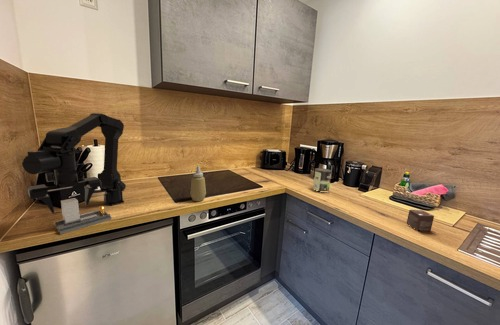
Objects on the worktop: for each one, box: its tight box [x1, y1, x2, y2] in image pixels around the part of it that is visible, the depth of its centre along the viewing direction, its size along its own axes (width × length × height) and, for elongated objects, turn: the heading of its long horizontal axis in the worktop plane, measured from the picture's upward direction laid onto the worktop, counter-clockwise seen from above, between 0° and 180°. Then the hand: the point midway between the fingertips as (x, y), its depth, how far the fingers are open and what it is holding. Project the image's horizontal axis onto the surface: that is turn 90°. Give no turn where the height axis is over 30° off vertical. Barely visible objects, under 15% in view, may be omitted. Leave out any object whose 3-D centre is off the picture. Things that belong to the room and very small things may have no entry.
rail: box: [54, 205, 112, 235], centre depth 75 cm, size 15×9×4 cm, turn 143°
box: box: [406, 209, 435, 232], centre depth 85 cm, size 6×6×7 cm
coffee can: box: [312, 167, 333, 192], centre depth 130 cm, size 10×10×14 cm
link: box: [60, 197, 97, 226], centre depth 74 cm, size 9×5×8 cm, turn 143°
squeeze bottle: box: [189, 165, 207, 202], centre depth 102 cm, size 8×8×18 cm
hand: (70, 208), depth 72 cm, fingers open, 9 cm apart
